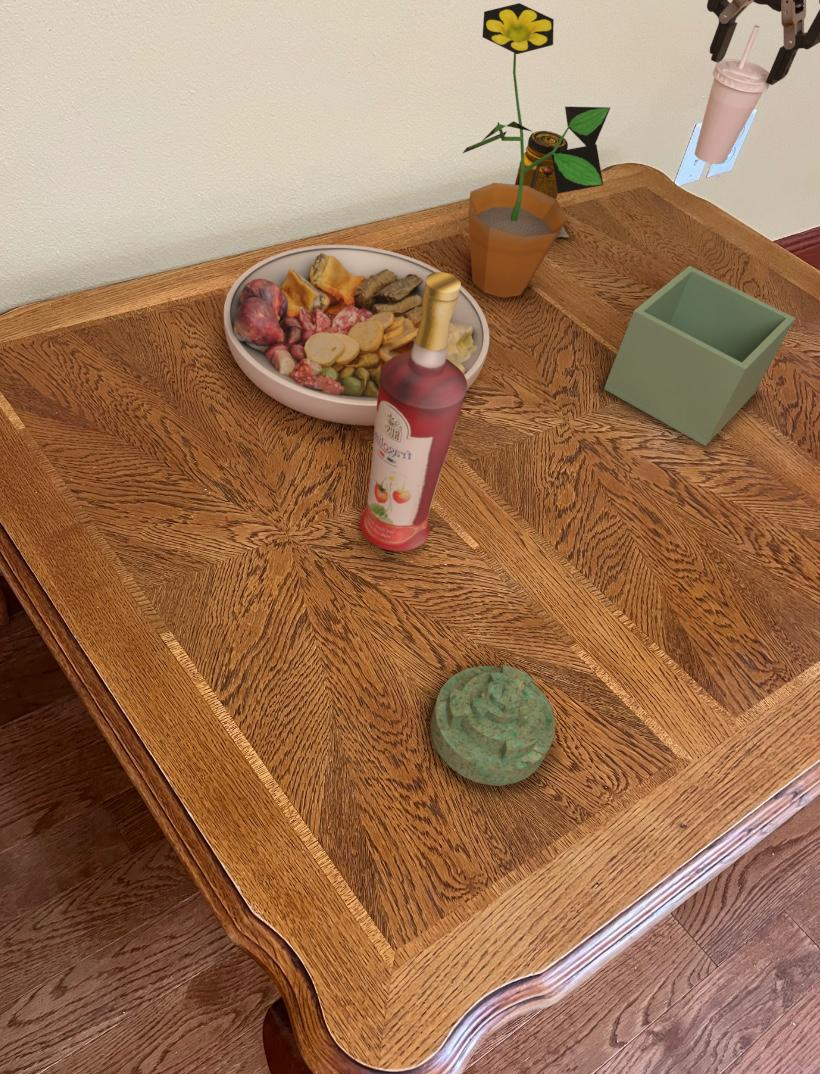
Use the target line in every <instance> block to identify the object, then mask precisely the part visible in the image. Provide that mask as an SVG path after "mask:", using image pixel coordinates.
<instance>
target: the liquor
mask: <svg viewBox="0 0 820 1074" xmlns="http://www.w3.org/2000/svg"><path fill="white" fill-rule="evenodd" d="M461 284H462V283H461V281H460V279H459V278H458V277H457V276H456V275H453V274H452V273H448V272H443V271H441V272H435V273H431V274H429V275H428V276H427V278H426V282H425V287H424V292H423V298H422V307H423V315H422V319H421V322H420V325H419V329H418V332H417V335H416V339H415V342H414V345H413V349H412V352H408V353H404V354H400V355H397V356H395V357H393V358H391V359H389V360H388V361H387V362H386V363H385V364H384V365H383V367H382V369H381V372H380V379H379V390H378V399H377V408H376V417H375V426H374V430H373V442H372V443H373V444H372V456H371V457H372V458H371V466H370V473H369V474H370V475H369V483H368V494H367V499H366V507H365V508H364V509H363V511H362V512H361V514H360V517H359V527H360V530H361V533H362V534H363V536H364V537H365V538H366V539H367V540H368V541H369V542H370V543H372V544H373V545H375V546H377V547H379V548H381V549H383V550H387V551H393V552H406V551H411V550H414V549H416V548H418V547H420V546H421V545H423V544H424V543H425V541H426V540H428V538H429V535H430V529H431V525H430V521H429V520H428V519H429V516H430V512H431V509H432V505H433V501H434V498H435V494H436V492H437V488H438V485H439V481H440V478H441V475H442V470H443V468H444V464H445V462H446V459H447V456H448V453H449V451H450V447H451V443H452V441H453V438H454V435H455V431H456V428H457V424H458V421H459V417H460V414H461V412H462V411H461V410H462V408H463V405H464V401H465V397H466V395H467V391H468V390H467V381H466V378H465V376H464V374H463V373H462V372H461V370H460V369H459V368H458V367H457V366H455V365H454V364H453V363H452V362H450V361H449V360H448V359H446V354H447V345H448V336H449V327H450V320H451V317H452V315H453V312H454V310H455V307H456V305H457V300H458V296H459V291H460V286H462V285H461Z"/></svg>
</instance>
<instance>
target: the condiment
mask: <svg viewBox="0 0 820 1074" xmlns="http://www.w3.org/2000/svg"><path fill="white" fill-rule="evenodd" d="M561 137H562V134H561V135H560V134H558V133H557V132H554V131H549V130H538V131H535V132H534V131H533V132H532V133H531V134H530V136H529V137H528V140H527V146H526V147H525V151H524V167H525V168H526V167H527V166H529V165H531V164H532V163H534V162H535V161H537V160H539V159H540V158H542V157H543V156H545V155H547V154H548V153H550V152H552V150H553V149H554V147H555V146H556V144H557V143H558V141H559V140H560V138H561ZM568 147H569V143H568V141H567V139H566V138H565V137H564V138H563V139H562V141H561V143H560V144H559V146H558V148H557V150H556V151H555V152H557V151H562V150H568ZM517 169H518V170H517V174H516V178H515V183H514V185H519V181H520V174H521V160H520V161H519V166H518V168H517ZM523 185H524V186H529V187H531V188H533V189H535V190H537V191H539V192H542V193H544V194H546V195H548V196H550V197H552V198H554V199H556V200H557V198H558V194H559V193H558V191H557V184H556V178H555V172H554V166H553V159H552V155H551V156H550V157H548V158H547V159H545V160H544V161H542V162H541V163H539V164H538V165H536V166H535V167H533V168H532V169H530V170H529V171H527V172H526V173H524V179H523ZM556 238H570V236H569V234H568V233H567V232H566V229H565V228H564V226H563V227H562V229H561V231H560V232H559V234H558V236H557V237H556Z"/></svg>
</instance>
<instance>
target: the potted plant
mask: <svg viewBox="0 0 820 1074" xmlns="http://www.w3.org/2000/svg"><path fill="white" fill-rule="evenodd" d="M554 21H555V19H554V18H552V17H550V16H548V15H545V14H544V13H542V12H539V11H538V10H535V9H532V8H531V7H528V6H526V5H524V4H523V3H520V2H518V3H513V4H510V5H506V6H502V7H498V8H493V9H489V10H485V11H483V22H482V38H483V39H485V40H488V41H489V42H491V43H493V44H495V45H497V46H499V47H502V48H503V49H505V50H508V51H509V52H511V53H513V61H512V62H513V63H512V66H513V67H512V76H513V85H514V94H515V104H516V112H517V121H518V122H516V121H515V120H514V121H511V122H510V123H508V124H506V125H504V124H500V122H499V121H497V125H496V126H495V127H493V128H492V130H491V131H490V132H489V133H488V134H487V135H485V137H484V138H483V139H482V140H481V141H480V142H477V143H473V144H472V145H469V146H467V147H466V148H465V149H464V150H463V152H462V153H461V154H463V155H464V154H465V153H468V152H470V151H472V150H475V149H477V148H481V147H482V146H485V145H487V144H490V143H492V142H495V141H497V140H499V139H500V140H501V141H502V142H519V143H520V144H519V145H520V161H521V174H520V181H519V185H515V184H513V183H512V184H511V183H502V182H501V183H500V182H492V183H489V184H487V185H484V186H482V187H479V188H477V189H474V190H471V191H470V193H469V202H468V209H467V210H468V211H467V212H468V227H469V228H468V229H469V245H470V246H469V247H470V265H471V280H472V283H473V284H474V285H475V286H476V287H477V288H478V289H479V290H481V292H483V293H484V294H488V295H491V296H495V297H499V298H502V299H504V298H511V297H512V298H513V297H518V296H521V295H522V293H523V292H524V291H525V290H526V288H527V287H528V286H529V284H530V282H531V280H532V279H533V277H534V275H535V274H536V272H537V270H538V269H539V267H540V265H541V264H542V262H543V261H544V259H545V257H546V256H547V254H548V252H549V251H550V249H551V247H552V246H553V244H554V243H555V241H556V239H557V238H558V237H557V236H558V234H559V232H560V231H561V229H562V227H563V228H564V226H565V224H566V222H567V221H568V219H569V217H568V216H567V214H566V212H565V211H564V209H563V207H562V206H561V205H560V202H558V199H557V198H556V199H554V198H552V197H550V196H548V195H546V194H544V193H542V192H539V191H537V190H535V189H533V188H531V187H529V186H524V185H523V179H524V173H526V172H527V171H529V170H530V169H532V168H533V167H535V166H536V165H538V164H539V163H541V162H542V161H544V160H545V159H547V158H548V157H550V156H551V155H552V159H553V166H554V172H555V178H556V184H557V191H558V194H564V193H568V192H569V193H570V192H574V191H580V190H584V189H590V188H591V189H592V188H596V187H601V186H604V181H603V174H602V169H601V164H600V163H601V162H600V157H599V151H598V145H597V144H596V143H597V141H598V139H599V136H600V134H601V132H602V129H603V126H604V125H605V122H606V120H607V117H608V115H609V113H610V110H611V107H610V106H609V107H608V106H607V107H605V106H564V110H565V117H566V124H567V125H566V126H567V128H566V129H565V131H564V132H563V134H561V136H562V137H561V138H560V140H559V141H558V143H557V144H556V146H555V147H554V149H553V150H552V152H550V153H548V154H547V155H545V156H543V157H542V158H540V159H539V160H537V161H535V162H534V163H532V164H531V165H529V166H527V167H526V168H525V167H524V153H525V145H524V144H525V143H524V142H525V141H524V140H525V139H524V131H527V132H532V133H534V131H533V130H531V129H529V128H527V127H525V126H524V125H523V121H522V116H521V115H522V114H521V107H520V100H519V91H518V82H517V74H516V73H517V72H516V71H517V62H516V61H517V55H519V54H520V55H521V54H523V53H527V52H532V51H536V50H539V49H543V48H547V47H551V46H554ZM506 127H508V128H514V129H518V130H519V136H506V134H507V133H508V130H506V131H503V129H504V128H506ZM569 130H570V131H571V132H572V133H573V135H574V136H575V137H577V138H578V140H580V142H581V143H583V144H584V145H583V146H579V147H574V148H569V149H568V148H567V150H562V151H557V152H555V151H556V150H557V148H558V146H559V144H560V143H561V141H562V139H563V138H564V139H565V136H566V134H567V133H568V131H569ZM497 132H499V134H496V133H497ZM495 134H496V135H495ZM493 135H494V136H493ZM491 136H492V137H491Z"/></svg>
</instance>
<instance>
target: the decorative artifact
mask: <svg viewBox="0 0 820 1074" xmlns="http://www.w3.org/2000/svg"><path fill="white" fill-rule="evenodd" d="M533 681H534V679H533V677H531V676H530V675H529V674H527V673H525V672H524V671H522V670H520V669H518V668H516V667H513V666H510V665H507V664H502V666H493V665H478V666H473V667H468V668H466V669H463V670H461V671H459V672H457V673H455V674H454V675H452V676H451V677H449V678H448V679H447V681H446V682H445V683H444V684H443V686H441V688H440V690H439V692H438V695H437V698H436V701H435V704H434V707H433V711H432V714H431V716H430V736H431V739H432V743H433V745H434V748H435V749H436V752H437V753H438V754H439V756H440V758H441V759H442V760H443V761H444V763H445V764H446V765H447V766H448V767H450V769H452V771H454V772H455V773H457V774H458V775H460V776H461V777H463V778H466V779H467V780H470V781H472V782H475V783H477V784H481V785H486V786H498V787H499V786H508V785H512V784H516V783H520V782H521V781H524V780H525V779H528V778H529V777H530V776H532V775H533V774H534V773H535V772H536V771H537V770H538V769H539V768H540V766H541V764H542V763H543V761H544V760H545V757H546V755H547V753H548V752H549V750H550V748H551V746H552V743H553V742H554V738H555V735H556V720H555V713H554V711H553V707H552V706H551V704H550V702H549V700H548V698H547V696H545V694H544V693H543V691H542V690H541V689H540V688H539V687H538V686H537V685H536V684H535V683H534V682H533Z"/></svg>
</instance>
